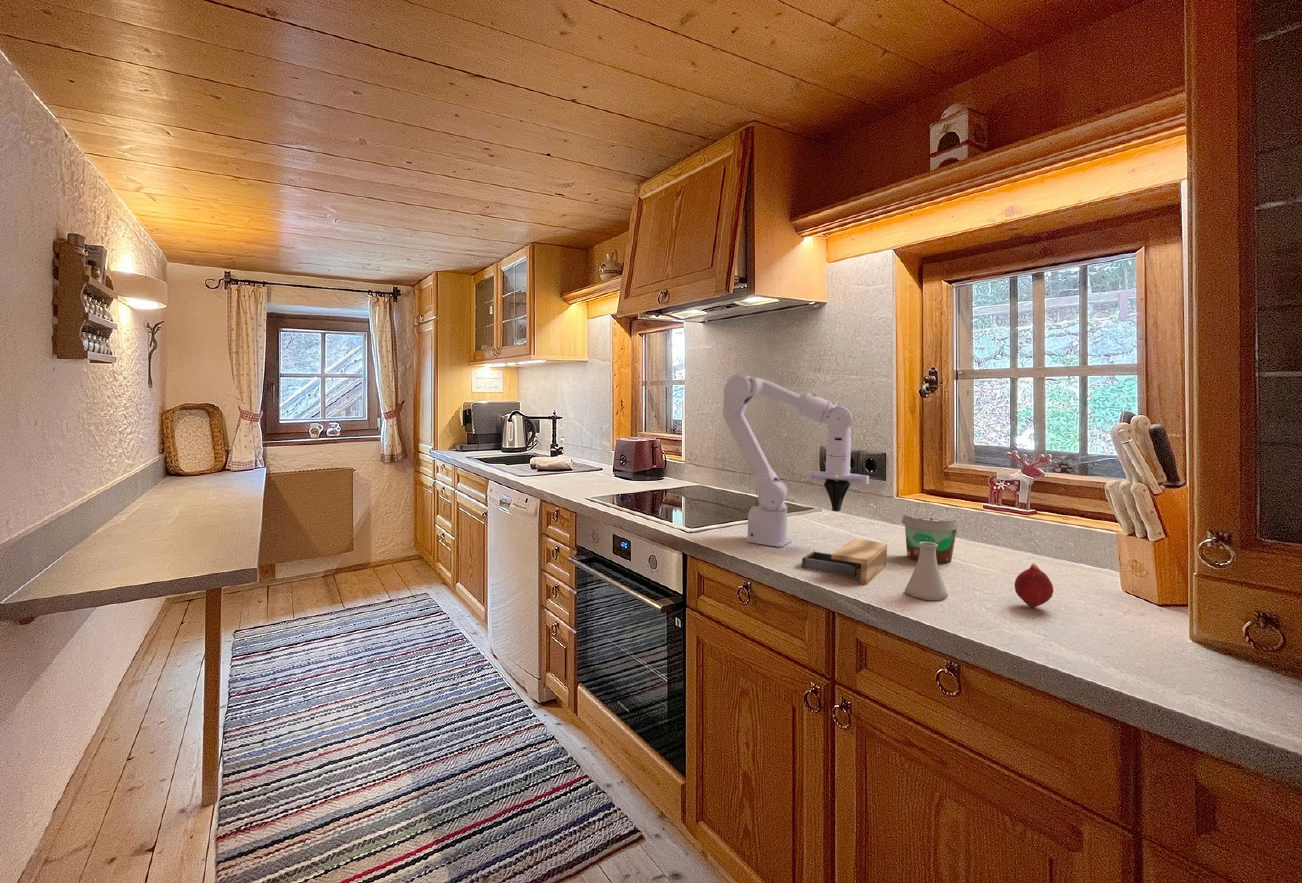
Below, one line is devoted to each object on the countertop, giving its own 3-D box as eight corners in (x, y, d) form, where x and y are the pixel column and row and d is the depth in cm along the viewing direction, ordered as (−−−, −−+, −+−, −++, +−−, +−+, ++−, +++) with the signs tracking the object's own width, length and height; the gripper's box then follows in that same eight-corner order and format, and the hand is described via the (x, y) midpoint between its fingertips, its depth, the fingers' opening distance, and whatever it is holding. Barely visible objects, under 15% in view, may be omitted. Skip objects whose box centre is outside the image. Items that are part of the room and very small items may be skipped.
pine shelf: (830, 578, 124) (831, 554, 123) (853, 560, 137) (854, 538, 136) (866, 584, 120) (867, 559, 119) (886, 565, 133) (887, 543, 132)
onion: (1059, 611, 105) (1062, 567, 105) (1034, 614, 104) (1037, 569, 103) (1030, 600, 111) (1032, 558, 110) (1005, 603, 109) (1008, 560, 109)
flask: (929, 604, 109) (932, 550, 108) (896, 592, 115) (898, 541, 114) (955, 598, 112) (958, 545, 111) (922, 586, 119) (924, 537, 118)
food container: (897, 561, 137) (899, 518, 136) (900, 554, 142) (902, 513, 141) (958, 568, 131) (960, 523, 130) (958, 561, 136) (960, 518, 135)
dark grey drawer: (802, 569, 131) (802, 558, 131) (813, 562, 137) (813, 551, 137) (857, 579, 124) (858, 567, 124) (866, 571, 130) (867, 559, 130)
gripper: (803, 455, 147) (802, 509, 148) (864, 459, 138) (861, 516, 139) (813, 452, 152) (812, 505, 153) (872, 456, 144) (870, 512, 145)
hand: (836, 510), depth 147 cm, fingers closed
